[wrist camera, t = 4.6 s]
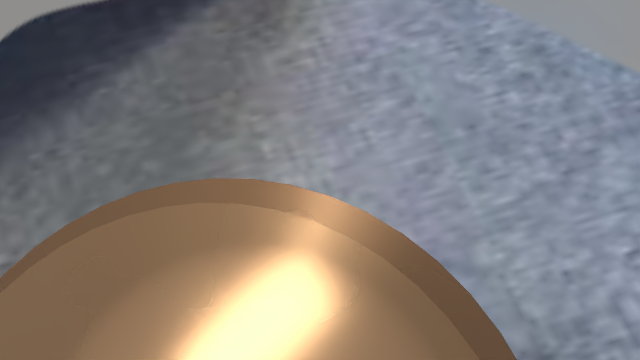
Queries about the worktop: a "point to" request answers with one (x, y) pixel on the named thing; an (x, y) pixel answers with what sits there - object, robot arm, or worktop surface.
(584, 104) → the worktop surface
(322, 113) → the worktop surface
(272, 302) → the copper capped cylinder
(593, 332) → the worktop surface
